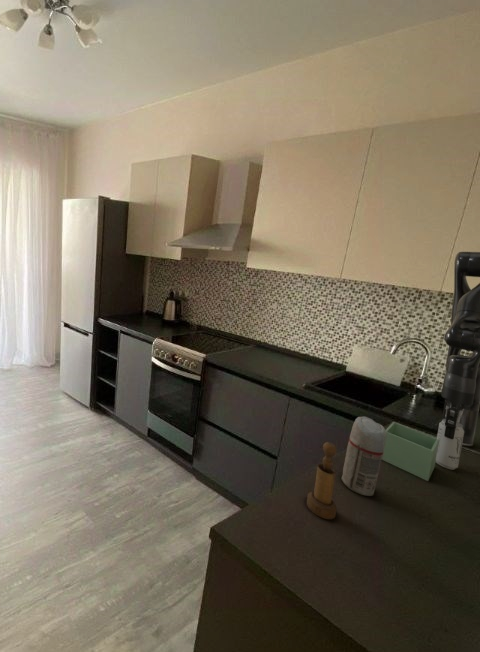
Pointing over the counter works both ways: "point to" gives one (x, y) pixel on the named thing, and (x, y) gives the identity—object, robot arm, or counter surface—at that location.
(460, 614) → the counter surface
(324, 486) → the mortar and pestle
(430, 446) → the waste bin
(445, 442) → the energy drink can
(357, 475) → the spray can
